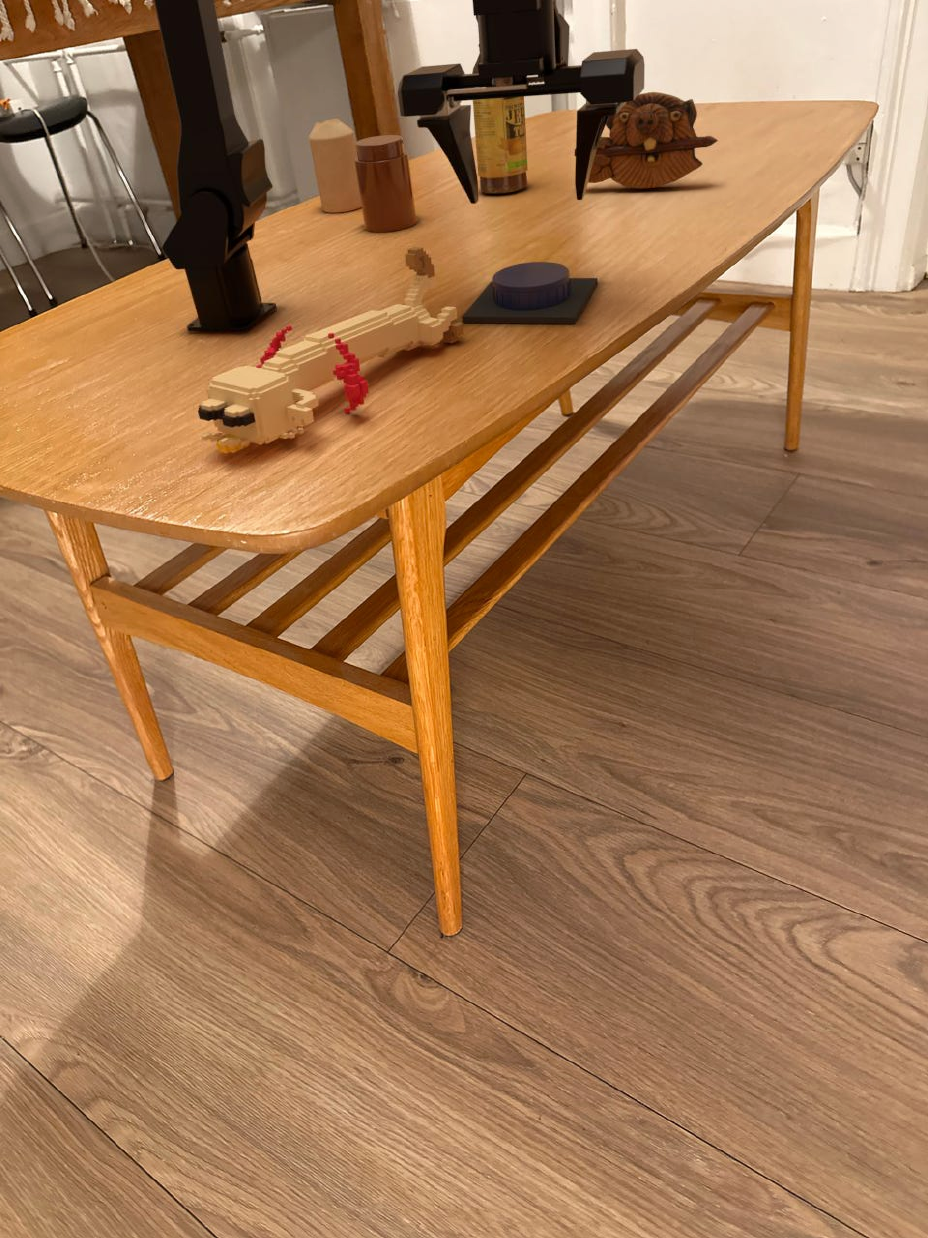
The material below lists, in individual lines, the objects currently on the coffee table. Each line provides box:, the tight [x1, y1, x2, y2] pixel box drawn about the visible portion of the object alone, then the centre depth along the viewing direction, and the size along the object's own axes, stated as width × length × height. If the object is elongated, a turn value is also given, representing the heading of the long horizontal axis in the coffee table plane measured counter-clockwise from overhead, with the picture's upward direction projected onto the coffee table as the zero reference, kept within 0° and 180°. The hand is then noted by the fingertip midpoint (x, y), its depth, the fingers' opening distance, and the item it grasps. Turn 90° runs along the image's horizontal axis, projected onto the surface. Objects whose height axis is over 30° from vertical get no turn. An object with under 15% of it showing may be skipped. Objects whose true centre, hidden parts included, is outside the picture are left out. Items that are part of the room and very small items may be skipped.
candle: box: [308, 118, 362, 213], centre depth 115 cm, size 6×6×10 cm
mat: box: [461, 277, 599, 325], centre depth 82 cm, size 10×10×1 cm
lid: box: [491, 261, 571, 310], centre depth 81 cm, size 7×7×2 cm
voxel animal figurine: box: [197, 246, 465, 455], centre depth 68 cm, size 10×9×25 cm
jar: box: [354, 134, 418, 233], centre depth 106 cm, size 6×6×9 cm
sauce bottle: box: [471, 15, 529, 194], centre depth 111 cm, size 6×6×20 cm
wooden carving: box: [574, 91, 719, 189], centre depth 107 cm, size 16×5×10 cm, turn 76°
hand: (526, 200), depth 77 cm, fingers open, 9 cm apart
